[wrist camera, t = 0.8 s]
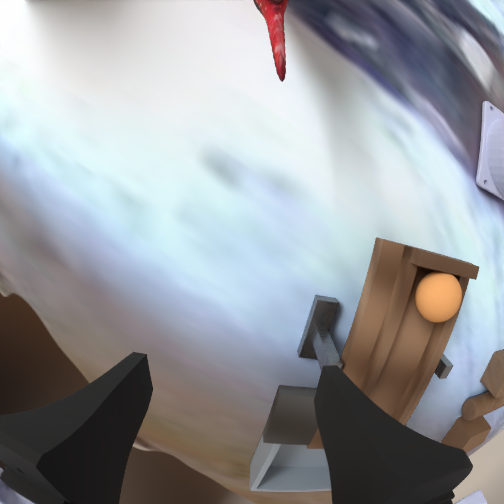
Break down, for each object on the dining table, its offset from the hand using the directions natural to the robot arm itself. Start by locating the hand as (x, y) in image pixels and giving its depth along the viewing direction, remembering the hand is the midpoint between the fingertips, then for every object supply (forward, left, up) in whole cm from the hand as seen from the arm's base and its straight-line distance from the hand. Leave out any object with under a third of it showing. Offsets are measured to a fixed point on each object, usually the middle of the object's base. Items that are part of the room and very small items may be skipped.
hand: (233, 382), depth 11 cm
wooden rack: (-9, +2, -5) cm, 11 cm away
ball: (-11, -4, -4) cm, 12 cm away
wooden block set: (-40, +11, -10) cm, 43 cm away
